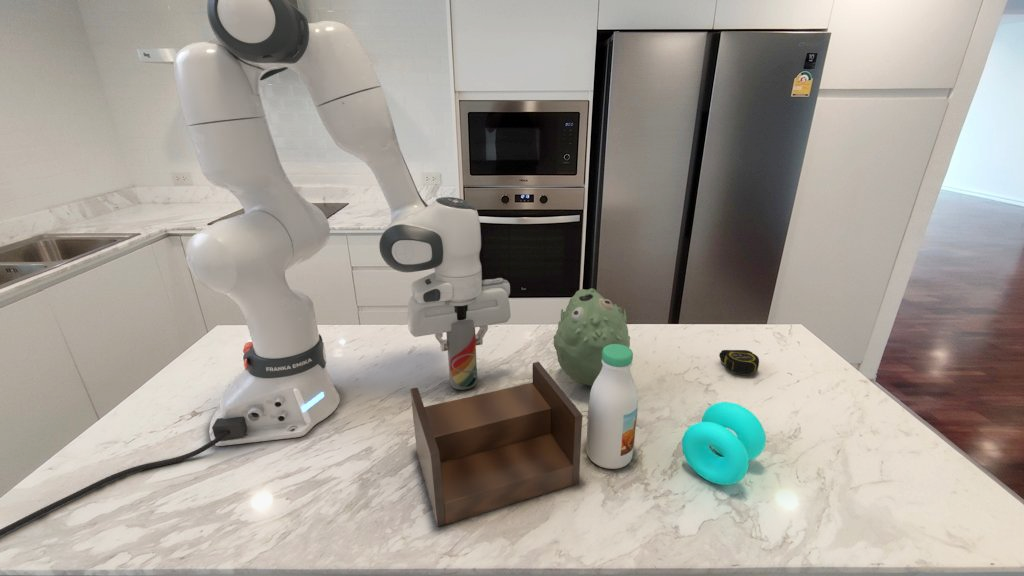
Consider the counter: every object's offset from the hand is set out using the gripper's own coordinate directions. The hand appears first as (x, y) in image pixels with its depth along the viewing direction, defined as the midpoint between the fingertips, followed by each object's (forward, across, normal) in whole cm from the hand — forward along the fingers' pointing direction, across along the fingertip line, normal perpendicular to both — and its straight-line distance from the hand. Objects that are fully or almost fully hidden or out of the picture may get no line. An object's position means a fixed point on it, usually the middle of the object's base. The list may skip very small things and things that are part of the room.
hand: (461, 346), depth 97 cm
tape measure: (+8, -58, +16) cm, 60 cm away
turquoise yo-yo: (+8, -33, +38) cm, 51 cm away
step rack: (+9, +1, +25) cm, 27 cm away
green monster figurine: (+9, -26, +8) cm, 28 cm away
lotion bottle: (+9, 0, 0) cm, 9 cm away
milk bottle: (+9, -18, +29) cm, 35 cm away
